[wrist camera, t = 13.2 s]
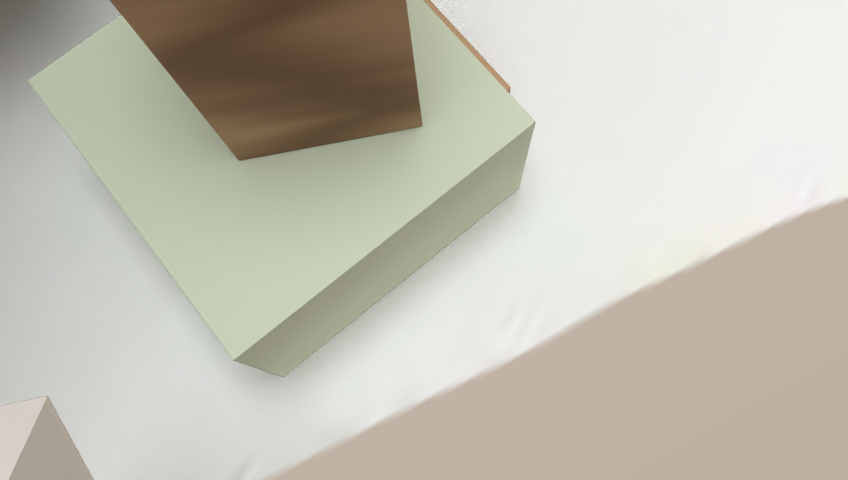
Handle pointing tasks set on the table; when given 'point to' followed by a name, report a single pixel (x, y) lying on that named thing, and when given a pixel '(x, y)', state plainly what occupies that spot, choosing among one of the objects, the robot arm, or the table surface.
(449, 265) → the table surface
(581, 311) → the table surface
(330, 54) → the walnut block
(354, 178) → the base block
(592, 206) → the table surface
